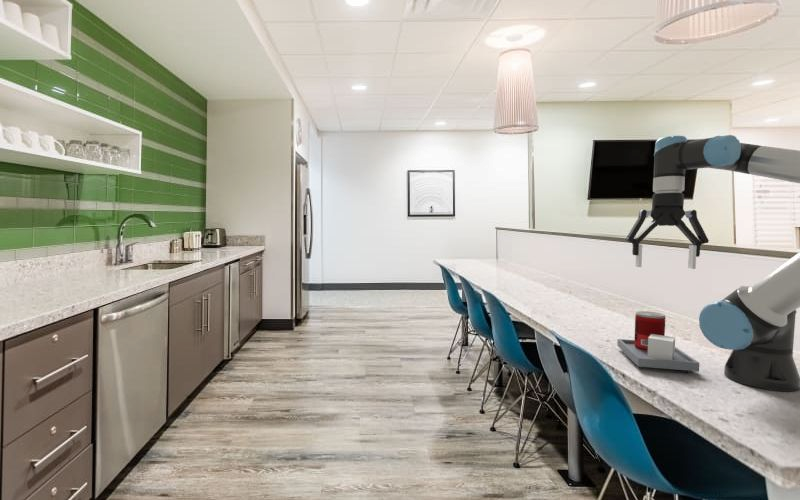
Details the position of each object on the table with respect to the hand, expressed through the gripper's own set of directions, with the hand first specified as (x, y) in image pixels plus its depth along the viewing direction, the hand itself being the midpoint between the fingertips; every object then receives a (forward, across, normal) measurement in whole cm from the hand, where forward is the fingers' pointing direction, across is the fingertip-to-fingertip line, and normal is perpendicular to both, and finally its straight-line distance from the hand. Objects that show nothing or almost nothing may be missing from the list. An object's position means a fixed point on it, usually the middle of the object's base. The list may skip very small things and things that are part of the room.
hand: (664, 267), depth 118 cm
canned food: (+26, 0, -10) cm, 28 cm away
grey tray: (+29, 0, -5) cm, 29 cm away
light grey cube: (+26, 0, 0) cm, 26 cm away
